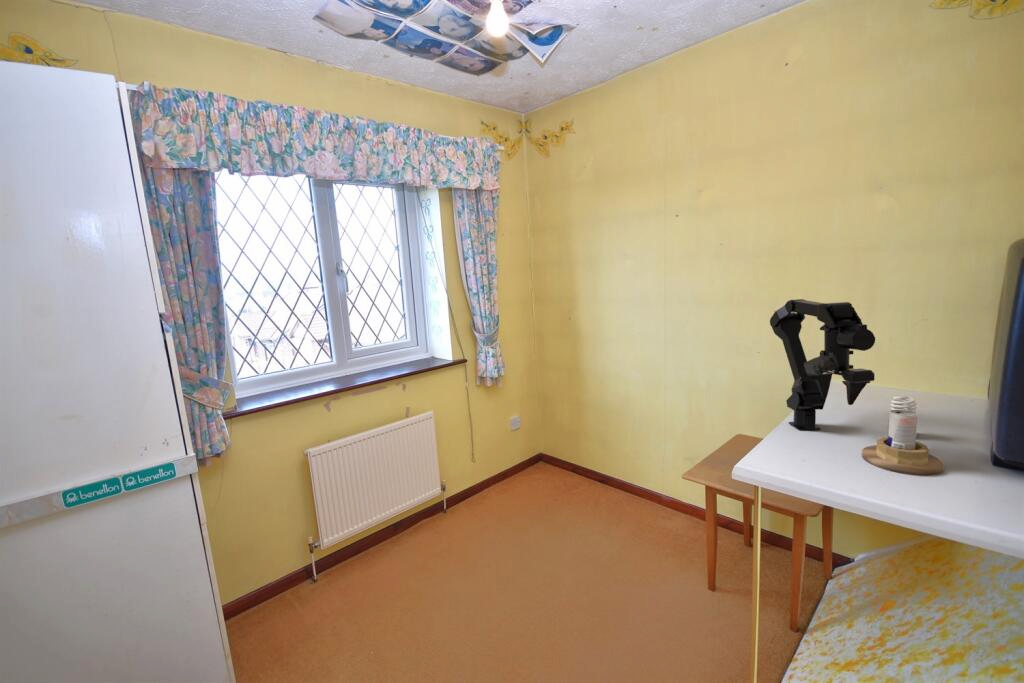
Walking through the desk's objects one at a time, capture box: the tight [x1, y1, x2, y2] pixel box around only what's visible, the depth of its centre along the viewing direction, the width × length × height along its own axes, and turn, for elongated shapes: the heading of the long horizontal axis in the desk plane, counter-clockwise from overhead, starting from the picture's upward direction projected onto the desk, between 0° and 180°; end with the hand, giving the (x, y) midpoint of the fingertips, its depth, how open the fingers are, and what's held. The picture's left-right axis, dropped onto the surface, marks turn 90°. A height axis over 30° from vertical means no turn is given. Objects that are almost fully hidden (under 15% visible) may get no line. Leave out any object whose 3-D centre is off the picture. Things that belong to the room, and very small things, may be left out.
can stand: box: [861, 436, 945, 477], centre depth 115 cm, size 16×16×5 cm
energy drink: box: [887, 410, 918, 450], centre depth 114 cm, size 5×5×12 cm
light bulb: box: [890, 395, 917, 413], centre depth 130 cm, size 6×6×12 cm
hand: (836, 401), depth 126 cm, fingers open, 9 cm apart
